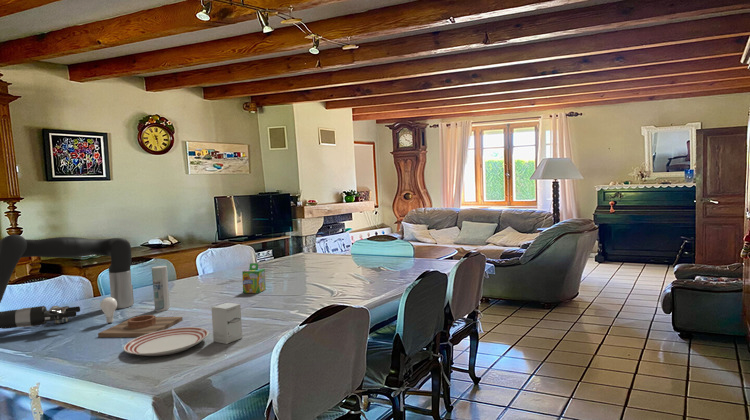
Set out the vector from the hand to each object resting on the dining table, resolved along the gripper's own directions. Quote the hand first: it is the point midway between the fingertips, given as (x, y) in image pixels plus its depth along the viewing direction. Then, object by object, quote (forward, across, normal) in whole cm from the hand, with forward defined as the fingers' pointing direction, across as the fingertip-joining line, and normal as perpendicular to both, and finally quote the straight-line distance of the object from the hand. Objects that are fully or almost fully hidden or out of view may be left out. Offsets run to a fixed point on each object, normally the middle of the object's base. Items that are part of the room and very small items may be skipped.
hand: (78, 311), depth 200 cm
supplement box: (+54, -51, +7) cm, 75 cm away
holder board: (+25, -17, +7) cm, 31 cm away
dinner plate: (+34, -48, +7) cm, 59 cm away
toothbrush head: (-12, +23, +7) cm, 27 cm away
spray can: (+31, +13, +7) cm, 34 cm away
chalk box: (+76, +28, +6) cm, 81 cm away
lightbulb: (+11, 0, +7) cm, 13 cm away
